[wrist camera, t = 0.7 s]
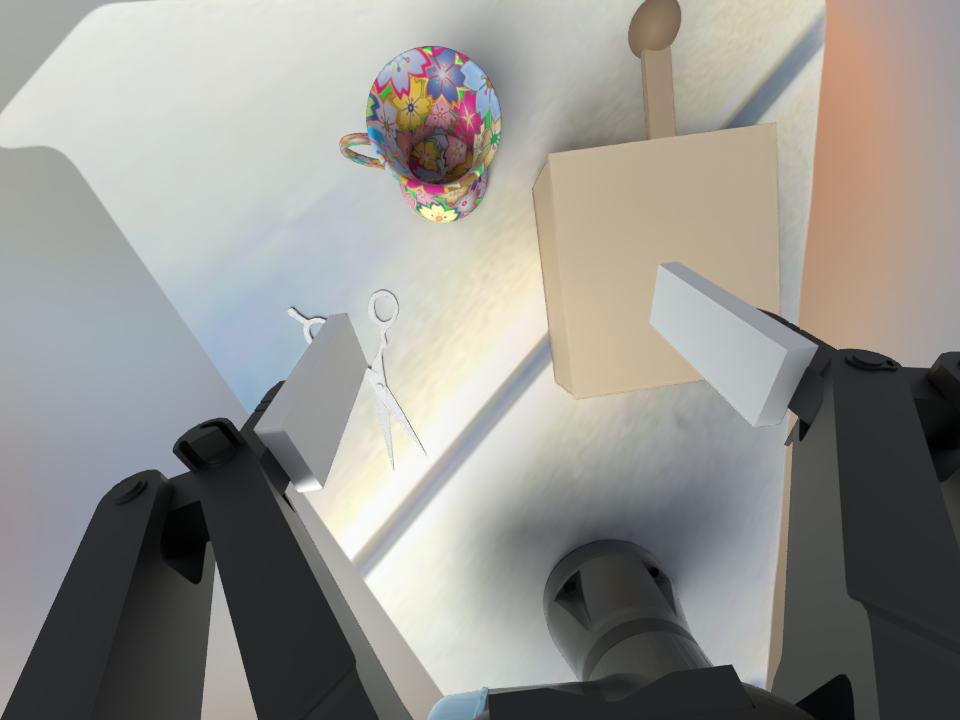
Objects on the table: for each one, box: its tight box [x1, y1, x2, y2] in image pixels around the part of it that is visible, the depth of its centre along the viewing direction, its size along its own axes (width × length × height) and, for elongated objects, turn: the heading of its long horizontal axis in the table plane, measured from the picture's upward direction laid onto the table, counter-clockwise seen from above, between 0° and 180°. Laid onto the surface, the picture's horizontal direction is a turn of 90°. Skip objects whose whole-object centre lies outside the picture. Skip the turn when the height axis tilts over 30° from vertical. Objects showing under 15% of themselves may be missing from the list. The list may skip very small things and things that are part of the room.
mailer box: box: [532, 162, 573, 395], centre depth 33 cm, size 20×18×7 cm
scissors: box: [288, 291, 427, 470], centre depth 36 cm, size 11×1×20 cm
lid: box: [547, 0, 781, 400], centre depth 28 cm, size 30×18×4 cm, turn 8°
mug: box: [339, 46, 502, 222], centre depth 29 cm, size 12×9×11 cm
